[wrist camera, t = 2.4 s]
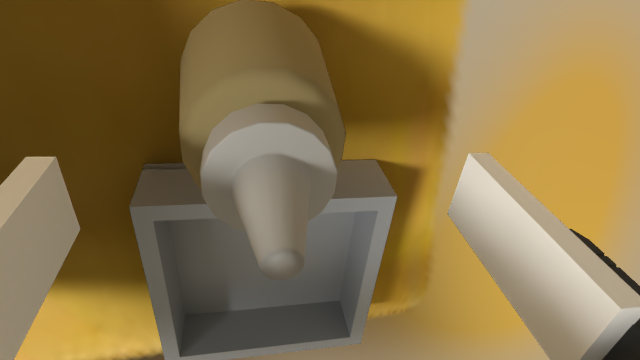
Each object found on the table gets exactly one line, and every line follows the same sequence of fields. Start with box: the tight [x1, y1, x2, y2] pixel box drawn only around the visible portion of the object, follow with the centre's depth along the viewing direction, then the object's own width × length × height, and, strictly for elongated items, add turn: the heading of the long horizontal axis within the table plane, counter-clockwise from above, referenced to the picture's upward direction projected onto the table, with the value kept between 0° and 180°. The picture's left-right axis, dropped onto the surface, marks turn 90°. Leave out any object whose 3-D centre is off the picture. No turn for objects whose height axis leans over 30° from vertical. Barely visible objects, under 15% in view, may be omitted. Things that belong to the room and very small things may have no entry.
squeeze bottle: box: [179, 0, 346, 280], centre depth 17 cm, size 8×8×18 cm
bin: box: [129, 160, 397, 360], centre depth 32 cm, size 17×17×5 cm
